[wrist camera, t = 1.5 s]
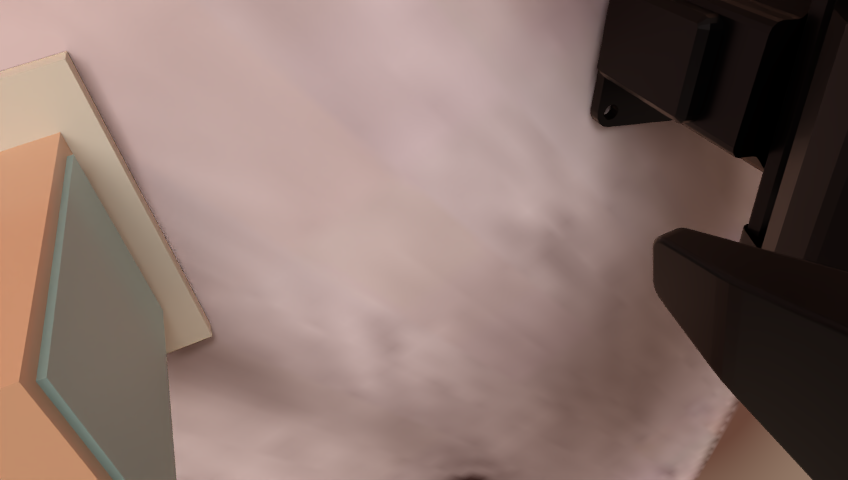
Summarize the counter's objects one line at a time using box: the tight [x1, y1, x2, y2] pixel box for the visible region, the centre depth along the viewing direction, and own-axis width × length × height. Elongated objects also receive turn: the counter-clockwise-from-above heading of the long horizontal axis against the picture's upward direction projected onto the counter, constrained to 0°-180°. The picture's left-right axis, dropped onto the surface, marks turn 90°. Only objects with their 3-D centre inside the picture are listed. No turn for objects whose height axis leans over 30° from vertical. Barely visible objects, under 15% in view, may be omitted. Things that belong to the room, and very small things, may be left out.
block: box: [0, 132, 176, 480], centre depth 15 cm, size 2×6×9 cm, turn 11°
